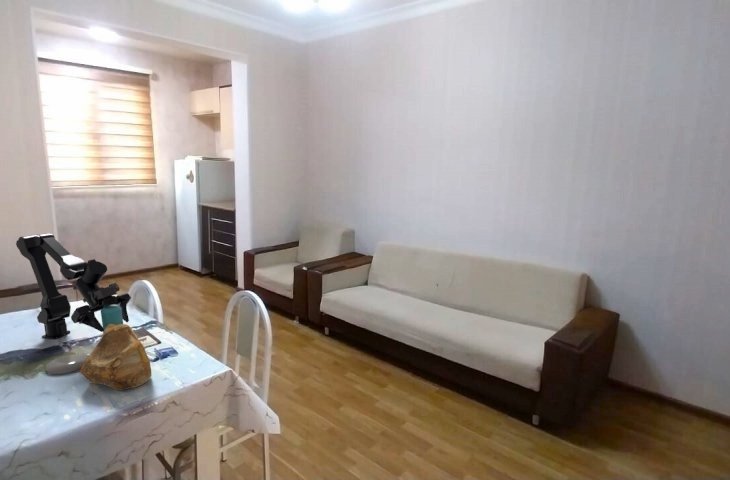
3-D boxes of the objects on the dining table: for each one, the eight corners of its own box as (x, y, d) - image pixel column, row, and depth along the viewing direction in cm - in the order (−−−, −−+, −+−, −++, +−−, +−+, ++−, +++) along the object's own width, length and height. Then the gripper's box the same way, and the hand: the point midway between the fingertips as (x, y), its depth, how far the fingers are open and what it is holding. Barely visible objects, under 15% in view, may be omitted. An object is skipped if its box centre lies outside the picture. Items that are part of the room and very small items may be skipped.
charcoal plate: (36, 373, 131) (36, 369, 131) (68, 355, 143) (68, 352, 142) (70, 376, 129) (69, 373, 129) (100, 358, 141) (99, 355, 141)
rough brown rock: (77, 376, 131) (66, 333, 127) (134, 356, 142) (126, 315, 138) (95, 411, 115) (84, 363, 111) (158, 384, 126) (150, 340, 122)
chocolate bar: (143, 327, 166) (161, 341, 154) (143, 330, 166) (161, 344, 154) (118, 334, 159) (134, 349, 147) (118, 336, 160) (135, 351, 147)
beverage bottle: (116, 356, 143) (110, 300, 139) (100, 354, 144) (93, 299, 140) (131, 348, 149) (125, 294, 145) (115, 346, 150) (109, 293, 146)
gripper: (72, 284, 135) (99, 322, 132) (125, 271, 151) (149, 304, 149) (59, 304, 139) (85, 341, 137) (112, 289, 156) (136, 321, 154)
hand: (115, 326), depth 144 cm, fingers open, 9 cm apart
